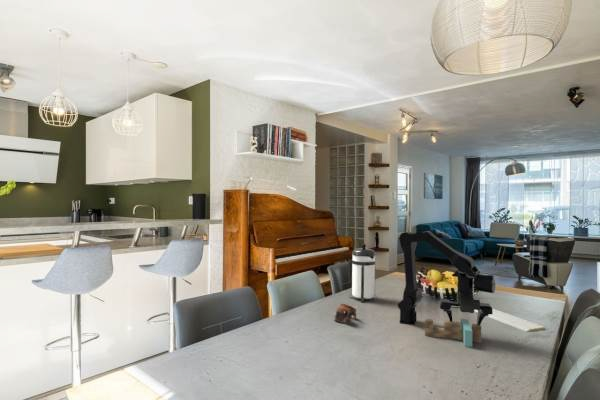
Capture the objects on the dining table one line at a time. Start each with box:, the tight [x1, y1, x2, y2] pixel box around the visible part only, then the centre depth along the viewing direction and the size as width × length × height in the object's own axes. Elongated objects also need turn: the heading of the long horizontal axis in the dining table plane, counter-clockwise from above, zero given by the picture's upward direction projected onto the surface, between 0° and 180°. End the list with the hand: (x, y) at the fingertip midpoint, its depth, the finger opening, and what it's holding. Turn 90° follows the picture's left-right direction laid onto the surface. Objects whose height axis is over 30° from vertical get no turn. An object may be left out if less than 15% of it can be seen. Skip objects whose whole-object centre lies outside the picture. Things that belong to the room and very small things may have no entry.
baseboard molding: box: [474, 308, 546, 332], centre depth 160 cm, size 31×3×12 cm
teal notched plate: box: [460, 317, 473, 348], centre depth 134 cm, size 14×2×6 cm, turn 161°
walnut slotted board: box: [424, 318, 482, 344], centre depth 136 cm, size 20×2×6 cm, turn 71°
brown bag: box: [333, 303, 357, 324], centre depth 154 cm, size 12×10×8 cm
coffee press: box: [347, 243, 378, 303], centre depth 190 cm, size 17×16×30 cm
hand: (464, 327), depth 139 cm, fingers open, 9 cm apart
